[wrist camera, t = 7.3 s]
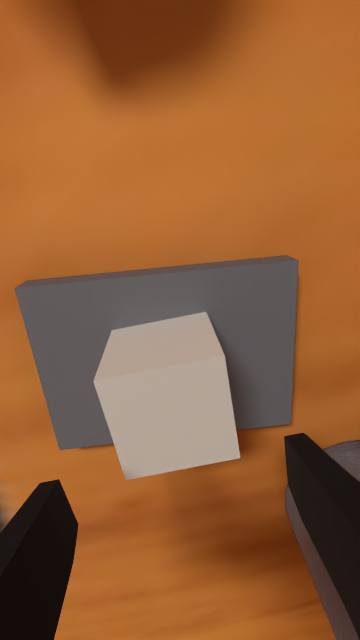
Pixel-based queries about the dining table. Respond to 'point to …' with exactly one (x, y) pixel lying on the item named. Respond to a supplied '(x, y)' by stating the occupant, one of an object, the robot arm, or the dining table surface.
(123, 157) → the dining table surface
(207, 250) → the dining table surface
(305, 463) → the robot arm
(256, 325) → the serving board
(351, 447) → the pillar candle
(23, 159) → the dining table surface
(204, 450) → the cube
